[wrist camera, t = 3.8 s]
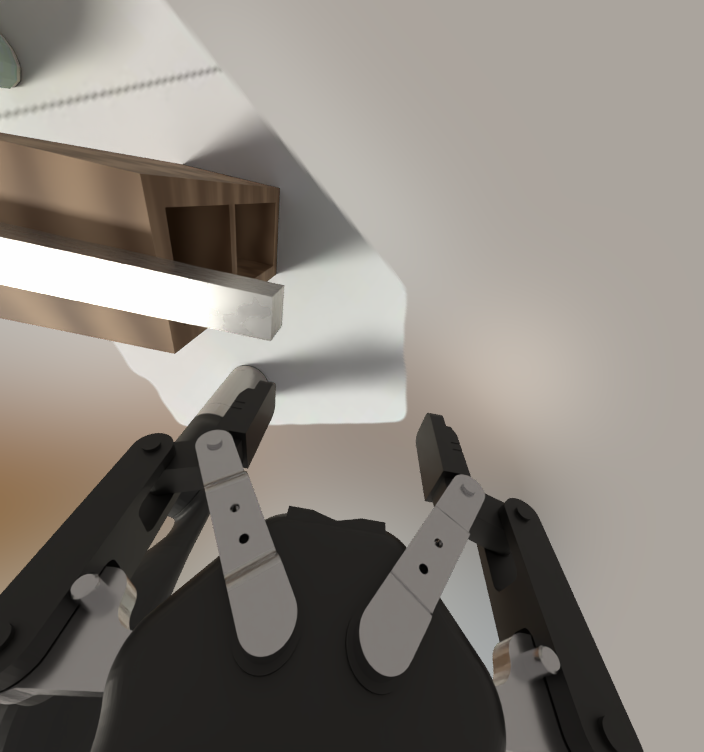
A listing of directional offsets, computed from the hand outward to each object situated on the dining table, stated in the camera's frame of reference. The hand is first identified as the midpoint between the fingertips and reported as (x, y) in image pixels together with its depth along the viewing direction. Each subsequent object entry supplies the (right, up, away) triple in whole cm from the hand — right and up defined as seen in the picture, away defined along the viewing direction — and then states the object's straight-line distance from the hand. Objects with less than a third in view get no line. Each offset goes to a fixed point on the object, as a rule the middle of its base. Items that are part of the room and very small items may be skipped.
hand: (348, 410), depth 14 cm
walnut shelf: (-21, +29, +34) cm, 49 cm away
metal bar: (-18, +10, +7) cm, 22 cm away
